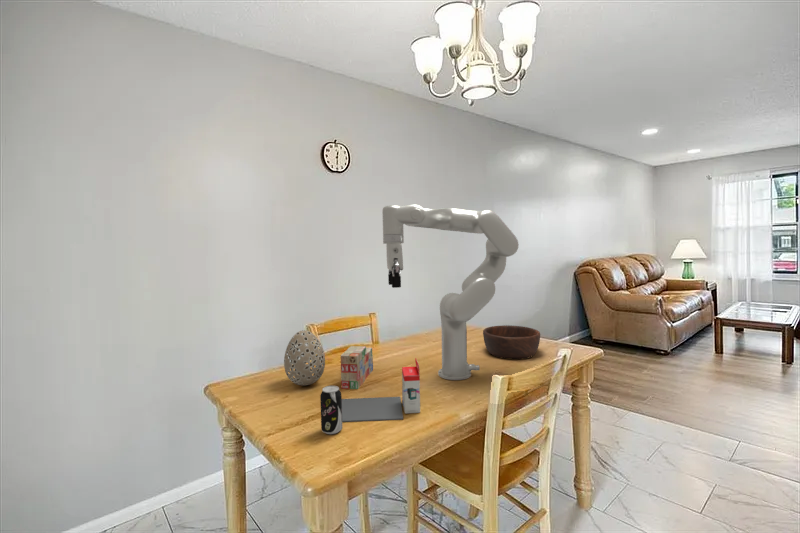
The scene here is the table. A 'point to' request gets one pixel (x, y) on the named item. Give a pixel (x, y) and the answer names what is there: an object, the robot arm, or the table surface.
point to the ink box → (411, 388)
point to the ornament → (304, 358)
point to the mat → (371, 409)
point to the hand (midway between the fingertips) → (394, 285)
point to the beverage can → (331, 410)
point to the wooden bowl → (511, 341)
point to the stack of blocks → (355, 366)
